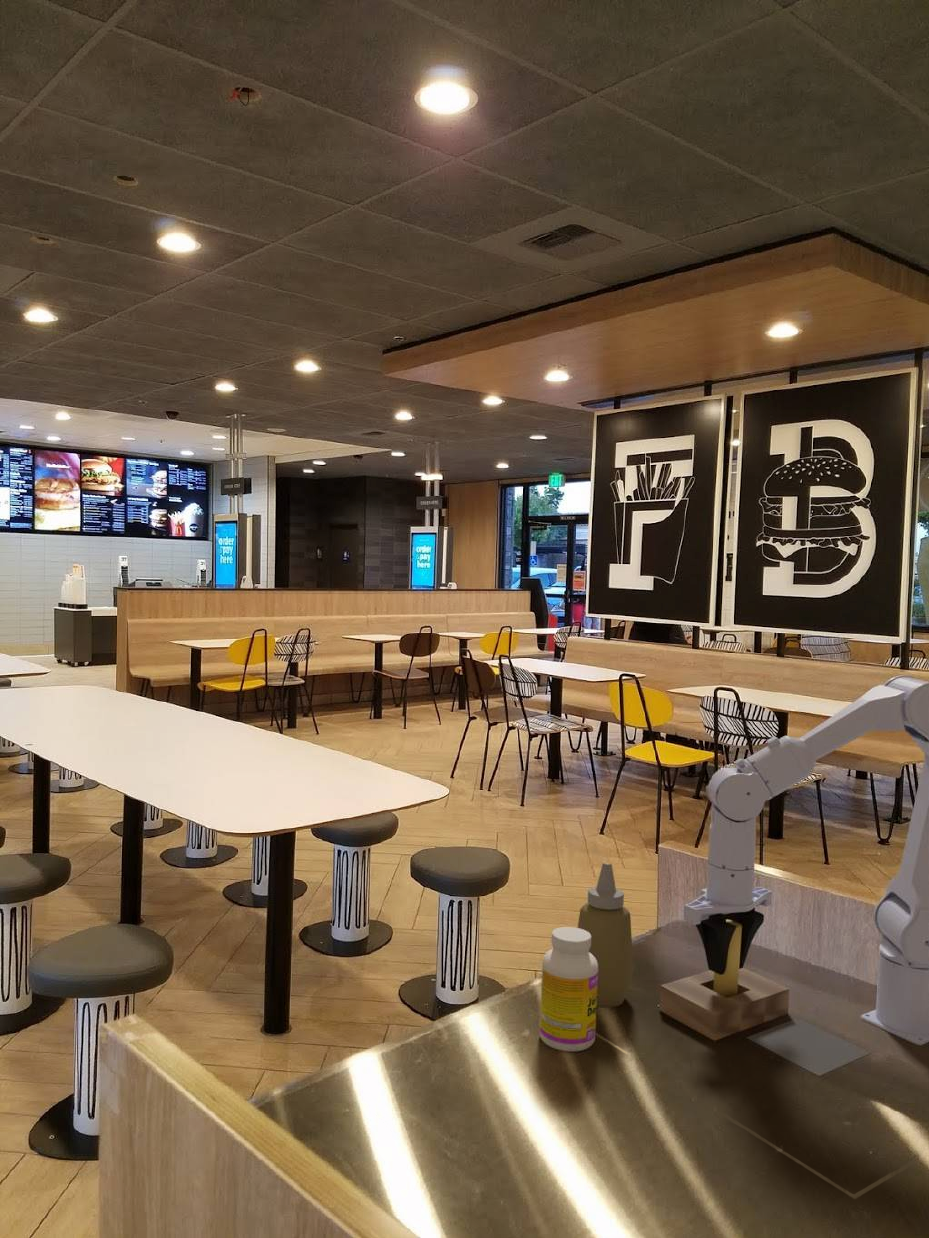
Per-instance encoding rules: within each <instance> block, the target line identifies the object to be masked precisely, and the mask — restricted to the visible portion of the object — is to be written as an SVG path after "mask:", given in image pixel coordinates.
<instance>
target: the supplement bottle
mask: <svg viewBox="0 0 929 1238" xmlns="http://www.w3.org/2000/svg"><path fill="white" fill-rule="evenodd" d="M550 943H551V946H552V949H549V950H548V951H547V952H546V953H545V954H544V955H543V958H542V965H541V966H542V967H541V968H542V969H541V986H540V987H541V990H540V992H541V993H540V1007H539V1008H540V1009H539V1037H540V1038H541V1041H542V1042H543V1043H544V1044H546V1045H547V1046H548V1047H550V1048H552V1049H554V1050H559V1051H562V1052H574V1053H575V1052H580V1051H585V1050H587V1049H589V1048H590V1047H592V1045H594V1043H595V1041H596V1040H595V1038H596V1028H597V1027H596V1025H597V982H598V963H597V960H596V958H595V957H594V956H593V955H592V954H591V953H589V949H590V947H591V934H590V933H589V932H587V931H585V930H583V929H580V928H578V927H574V926H562V927H561V926H560V927H557V928H555V929H553V930H552V932H551V941H550Z"/></svg>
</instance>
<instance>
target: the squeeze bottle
mask: <svg viewBox="0 0 929 1238" xmlns="http://www.w3.org/2000/svg"><path fill="white" fill-rule="evenodd" d="M624 900H625V893H624V891H623V890H622V889H619V888H616V881H615V876H614V870H613V864H612V863H610V862H603V863H602V864H601V869H600V872H599V875H598V881H597V883H596V886H592V887H590V888H589V889H588V891H587V903H585V904H583V905H582V906H581V907H580V909H579V916H578V923H577V928H580V929H583V930H585V931H587V932H589V933H590V934H591V947H590V949H589V953H591V954H592V955H593V956H594V957H595V958H596V960H597V963H598V982H597V1007H598V1008H615V1007H618V1006H620V1005H623V1003H624V1001H625V999H626V997H627V995H628V991H629V989H630V987H631V984H632V980H633V979H634V976H635V974H634V956H633V955H634V954H633V953H634V952H633V940H632V937H633V936H632V925H631V924H632V922H631V921H632V920H631V919H632V917H631V913H630V911H629V909H627V908H626V907H625V906H624V903H625V902H624Z"/></svg>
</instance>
